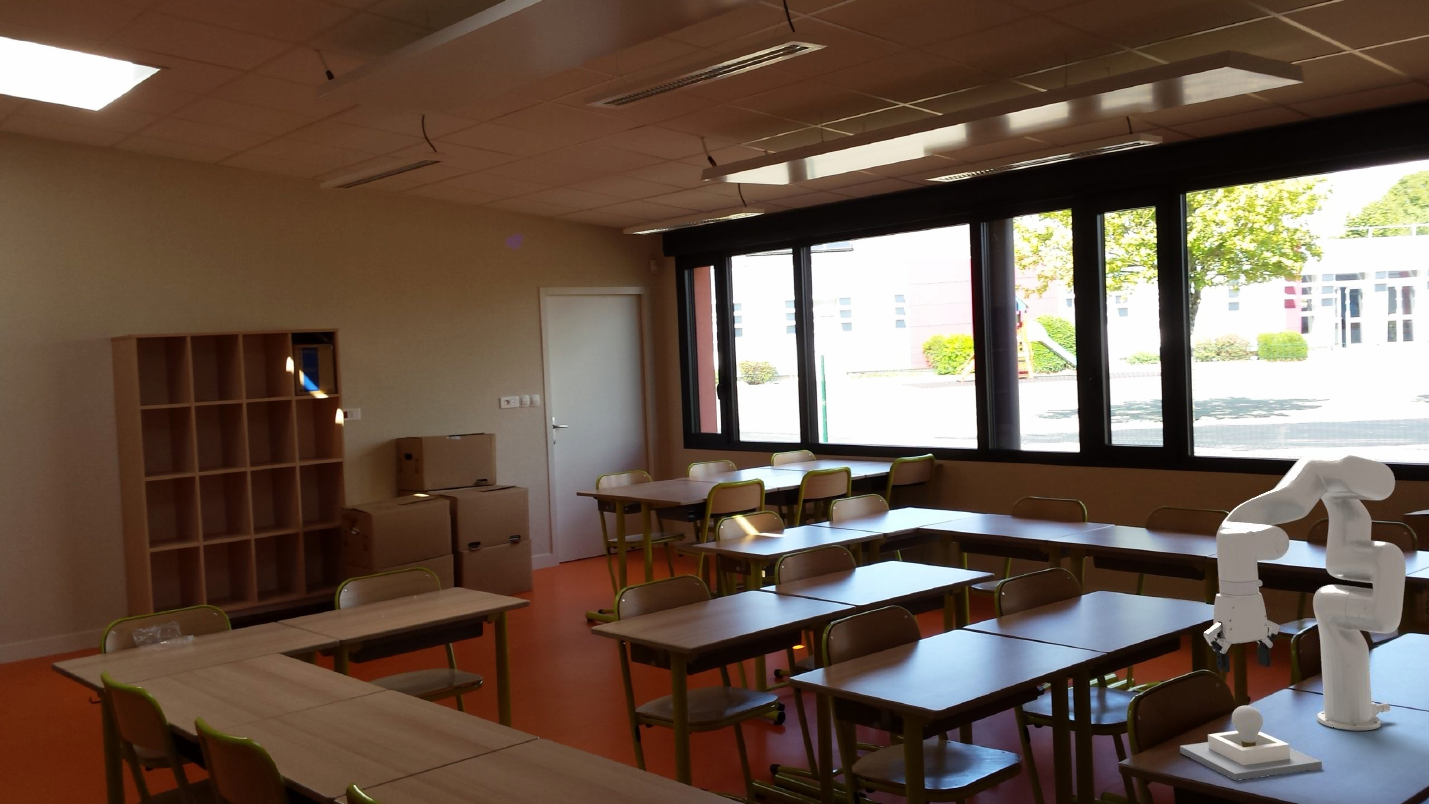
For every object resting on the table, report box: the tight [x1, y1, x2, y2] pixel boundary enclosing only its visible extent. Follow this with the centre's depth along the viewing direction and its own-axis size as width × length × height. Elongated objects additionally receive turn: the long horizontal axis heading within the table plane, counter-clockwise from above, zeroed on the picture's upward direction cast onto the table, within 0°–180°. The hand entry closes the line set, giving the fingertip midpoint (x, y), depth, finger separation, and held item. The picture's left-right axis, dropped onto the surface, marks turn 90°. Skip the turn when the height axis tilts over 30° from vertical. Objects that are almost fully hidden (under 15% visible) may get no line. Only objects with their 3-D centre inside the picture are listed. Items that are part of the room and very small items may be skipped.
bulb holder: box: [1179, 730, 1323, 781], centre depth 224 cm, size 20×18×4 cm
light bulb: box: [1231, 705, 1264, 747], centre depth 224 cm, size 6×6×10 cm
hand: (1244, 668), depth 224 cm, fingers open, 9 cm apart
